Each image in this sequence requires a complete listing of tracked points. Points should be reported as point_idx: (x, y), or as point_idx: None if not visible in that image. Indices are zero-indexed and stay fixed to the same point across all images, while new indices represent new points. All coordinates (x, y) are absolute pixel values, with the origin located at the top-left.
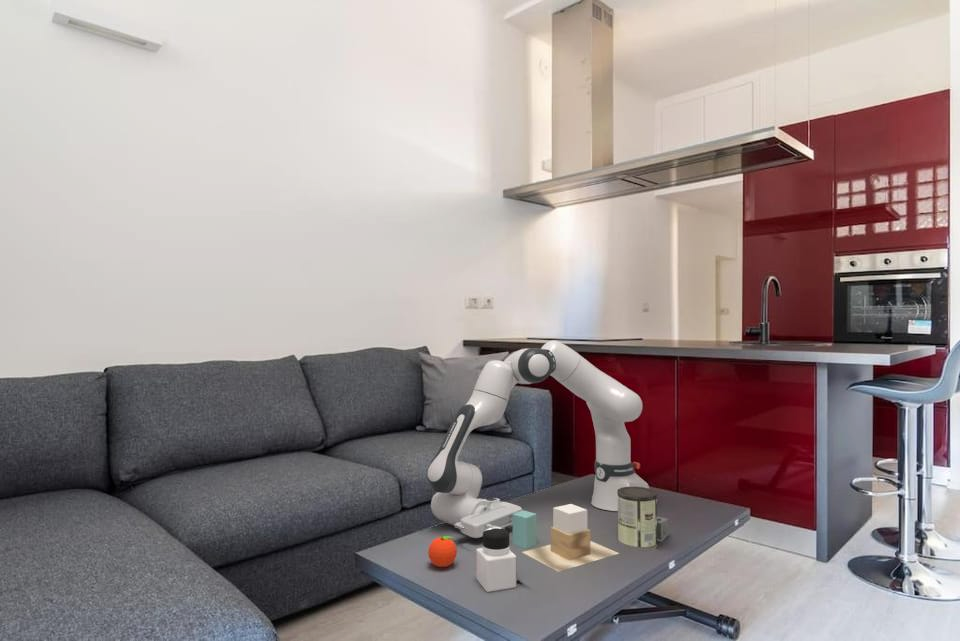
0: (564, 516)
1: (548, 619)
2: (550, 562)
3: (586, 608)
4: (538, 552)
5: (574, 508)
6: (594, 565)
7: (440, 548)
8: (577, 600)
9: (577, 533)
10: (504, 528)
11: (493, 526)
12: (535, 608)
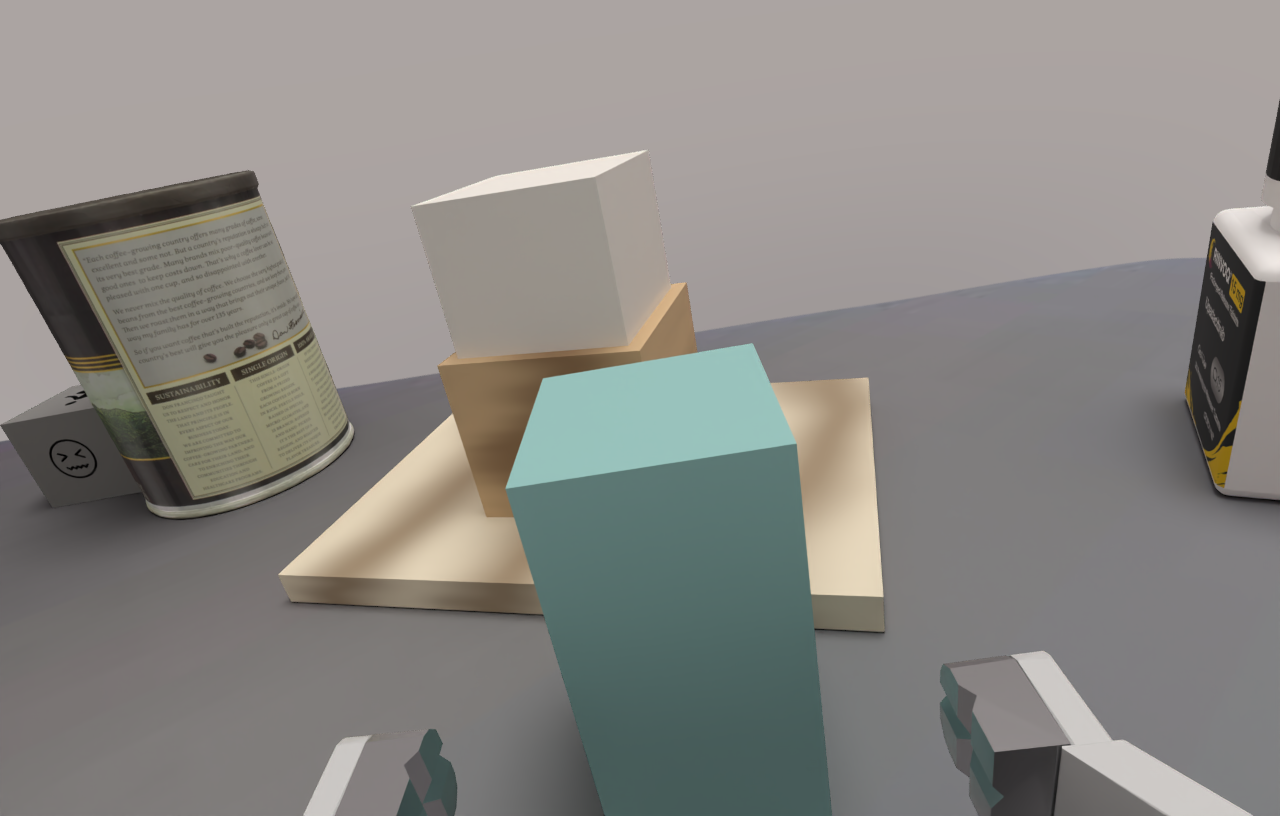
0: (642, 188)
1: (1136, 280)
2: (819, 434)
3: (948, 292)
4: None
5: (513, 179)
6: None
7: None
8: (940, 313)
9: None
10: (953, 666)
11: (1181, 778)
12: (1157, 310)
